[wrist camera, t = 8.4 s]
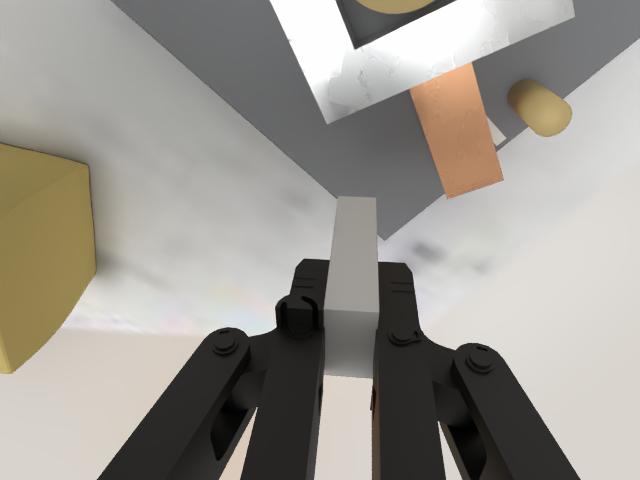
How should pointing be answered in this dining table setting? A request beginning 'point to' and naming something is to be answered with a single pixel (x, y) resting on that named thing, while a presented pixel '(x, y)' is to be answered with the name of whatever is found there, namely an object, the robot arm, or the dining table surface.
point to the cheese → (41, 248)
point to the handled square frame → (418, 69)
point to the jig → (389, 114)
